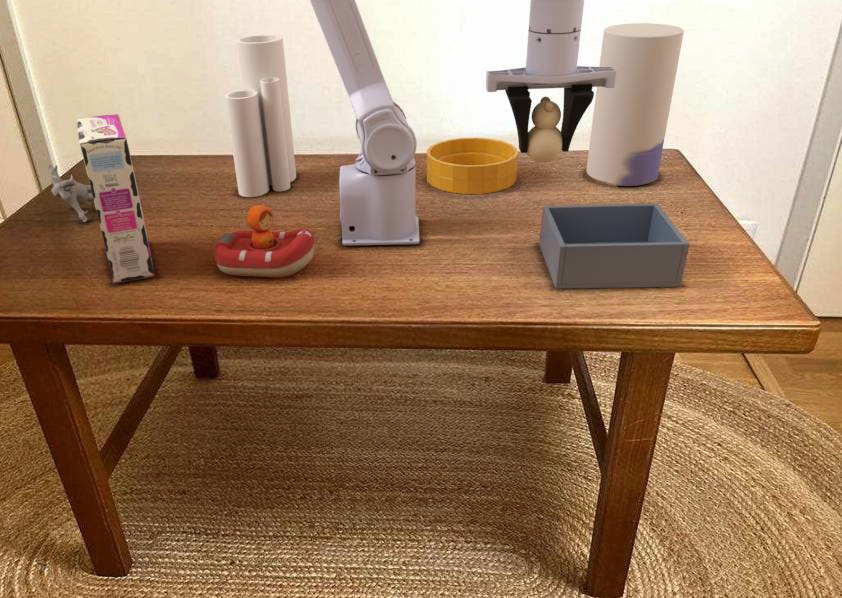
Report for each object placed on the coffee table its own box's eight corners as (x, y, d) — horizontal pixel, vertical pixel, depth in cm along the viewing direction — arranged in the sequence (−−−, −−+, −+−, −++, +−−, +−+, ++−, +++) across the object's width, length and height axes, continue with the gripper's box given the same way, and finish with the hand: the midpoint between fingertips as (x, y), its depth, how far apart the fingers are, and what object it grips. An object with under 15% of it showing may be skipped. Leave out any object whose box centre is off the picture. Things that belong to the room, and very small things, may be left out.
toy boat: (308, 283, 81) (302, 220, 77) (209, 280, 83) (198, 218, 79) (322, 254, 88) (317, 194, 84) (230, 251, 89) (221, 192, 85)
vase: (261, 170, 115) (244, 34, 104) (304, 172, 113) (292, 34, 102) (233, 196, 105) (211, 50, 95) (279, 198, 104) (263, 50, 93)
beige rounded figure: (526, 168, 87) (531, 105, 83) (520, 156, 91) (524, 95, 87) (564, 167, 87) (571, 103, 83) (557, 155, 91) (563, 93, 87)
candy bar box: (158, 277, 84) (127, 136, 75) (113, 285, 83) (77, 143, 74) (147, 240, 93) (119, 111, 84) (107, 247, 92) (74, 117, 83)
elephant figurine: (133, 207, 104) (83, 207, 96) (111, 234, 106) (60, 236, 98) (96, 153, 105) (44, 149, 97) (75, 181, 108) (23, 179, 100)
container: (593, 161, 112) (611, 20, 101) (661, 168, 108) (688, 23, 97) (579, 182, 105) (597, 33, 94) (652, 190, 101) (679, 36, 90)
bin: (555, 288, 78) (560, 246, 75) (539, 244, 88) (542, 205, 85) (680, 286, 77) (689, 244, 75) (650, 242, 87) (657, 203, 84)
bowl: (428, 198, 102) (428, 167, 99) (425, 167, 113) (425, 138, 110) (521, 196, 101) (524, 165, 98) (510, 165, 112) (511, 136, 109)
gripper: (611, 21, 84) (596, 137, 91) (485, 26, 85) (480, 141, 92) (627, 31, 78) (610, 155, 85) (492, 37, 79) (486, 159, 86)
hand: (543, 149), depth 88 cm, fingers closed on beige rounded figure, 4 cm apart
